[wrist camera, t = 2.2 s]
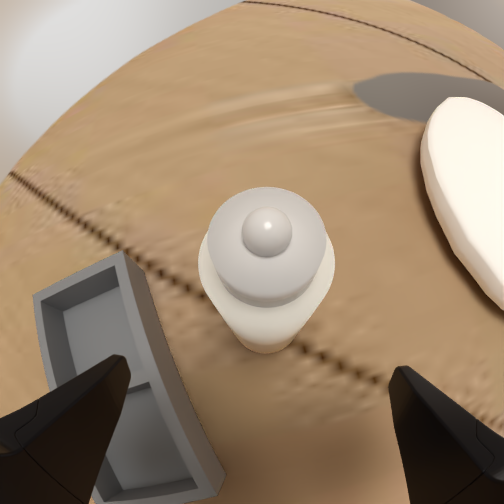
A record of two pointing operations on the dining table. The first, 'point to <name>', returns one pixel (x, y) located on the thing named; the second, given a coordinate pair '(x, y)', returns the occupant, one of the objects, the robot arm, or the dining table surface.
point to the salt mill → (266, 265)
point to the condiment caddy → (140, 387)
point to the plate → (468, 186)
